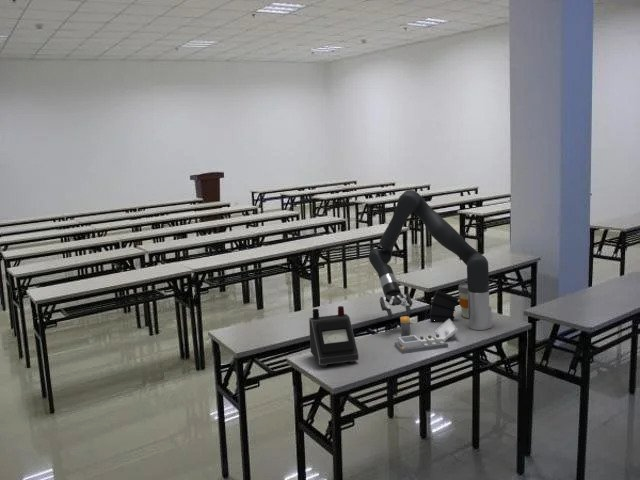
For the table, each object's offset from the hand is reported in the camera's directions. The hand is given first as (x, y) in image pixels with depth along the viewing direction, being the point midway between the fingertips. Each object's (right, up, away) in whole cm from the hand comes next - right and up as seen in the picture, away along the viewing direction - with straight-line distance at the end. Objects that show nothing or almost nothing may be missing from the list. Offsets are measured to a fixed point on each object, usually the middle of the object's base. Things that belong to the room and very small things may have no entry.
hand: (400, 316), depth 262 cm
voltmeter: (-30, -15, -21) cm, 40 cm away
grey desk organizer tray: (+7, -11, -13) cm, 19 cm away
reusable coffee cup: (+38, -3, +23) cm, 44 cm away
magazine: (+23, -5, +19) cm, 30 cm away
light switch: (+20, -9, -3) cm, 22 cm away
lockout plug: (+2, -10, -3) cm, 11 cm away
